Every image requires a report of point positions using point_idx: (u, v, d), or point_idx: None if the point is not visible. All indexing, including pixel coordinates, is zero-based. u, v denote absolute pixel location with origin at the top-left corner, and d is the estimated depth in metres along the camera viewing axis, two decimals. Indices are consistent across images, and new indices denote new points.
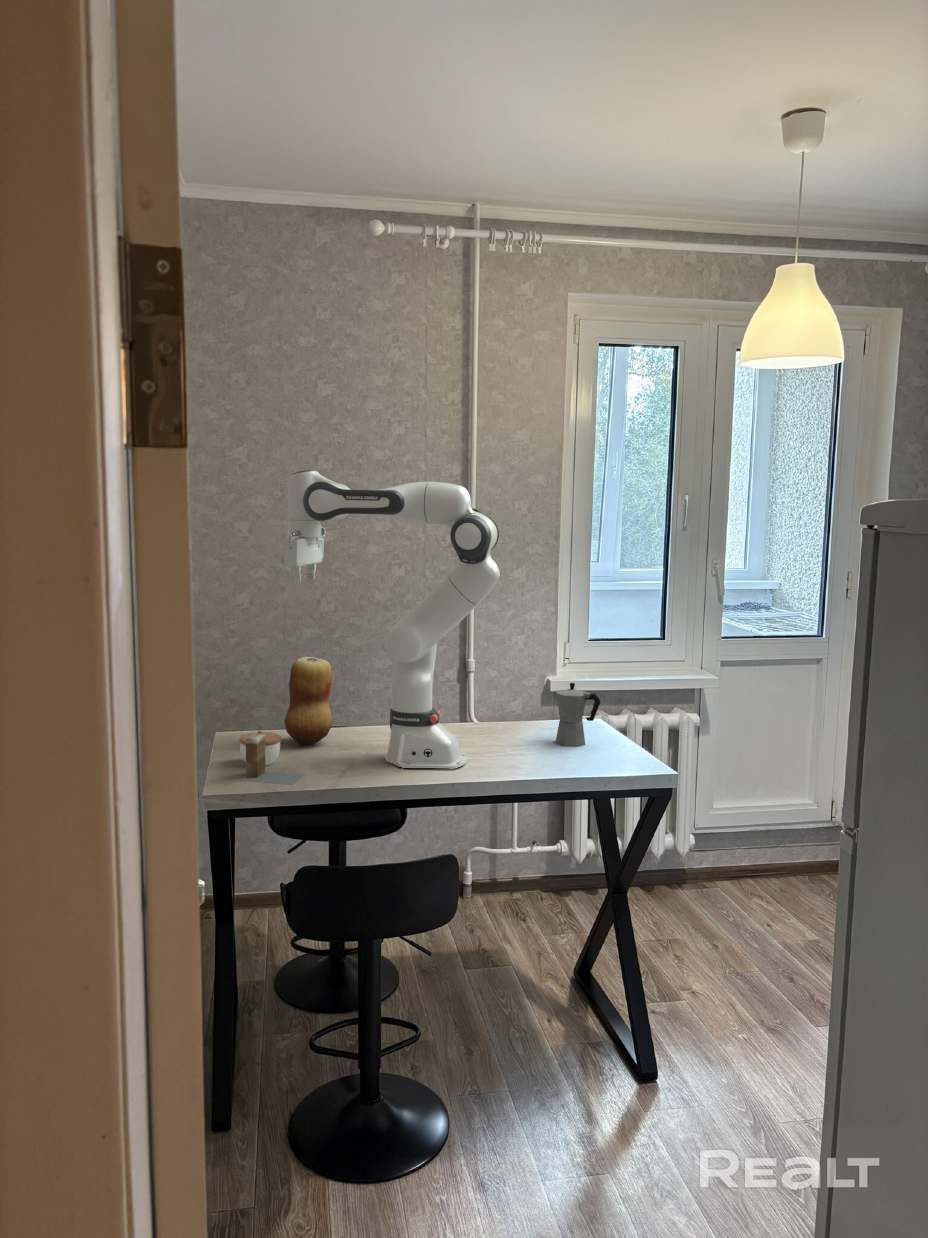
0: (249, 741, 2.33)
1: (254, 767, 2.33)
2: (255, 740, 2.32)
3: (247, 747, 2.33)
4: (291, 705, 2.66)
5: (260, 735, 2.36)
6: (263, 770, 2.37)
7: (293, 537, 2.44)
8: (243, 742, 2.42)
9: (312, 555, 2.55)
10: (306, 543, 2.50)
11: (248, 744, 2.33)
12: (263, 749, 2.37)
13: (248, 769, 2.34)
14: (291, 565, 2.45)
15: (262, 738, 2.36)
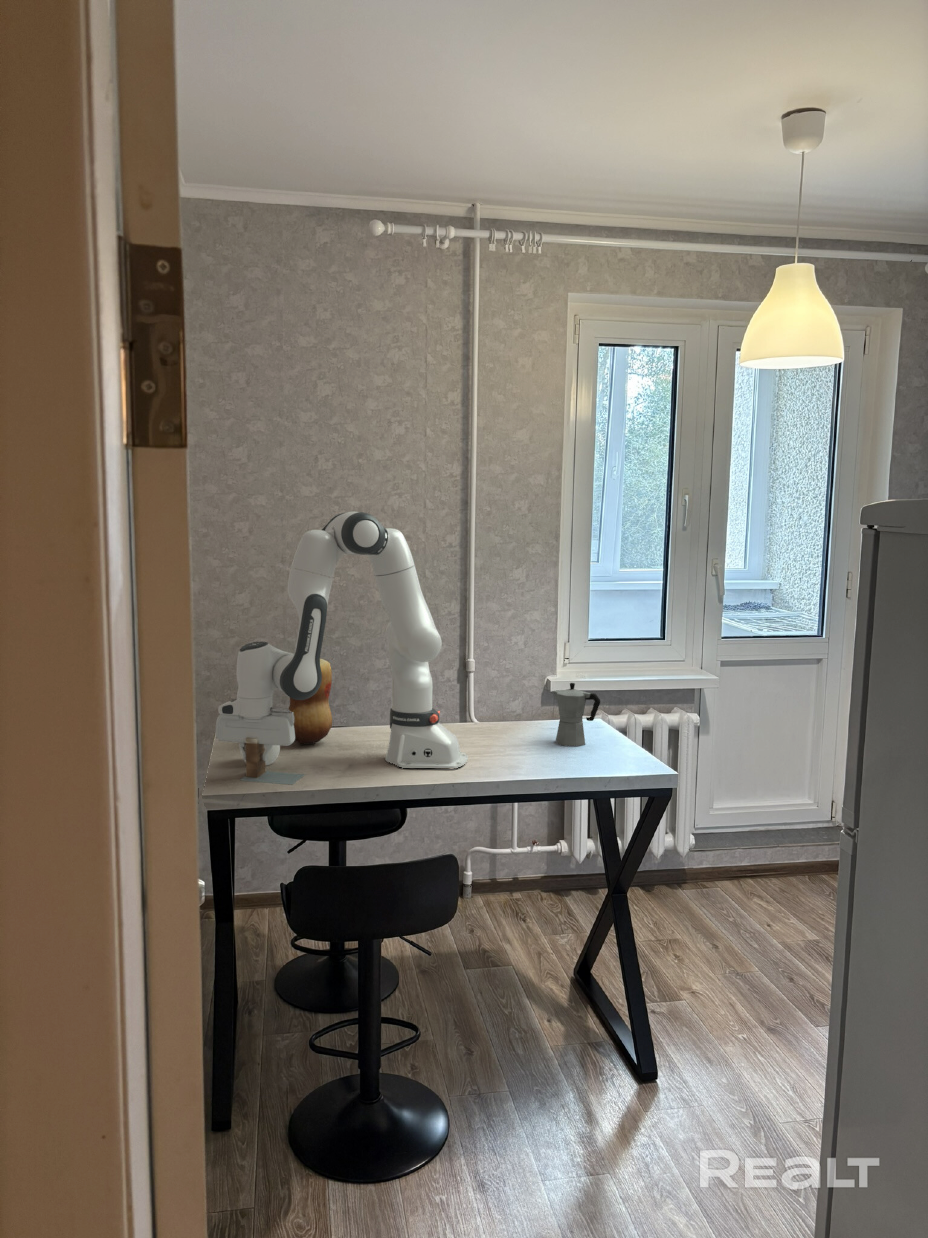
0: (249, 741, 2.33)
1: (254, 767, 2.33)
2: (255, 740, 2.32)
3: (247, 747, 2.33)
4: (291, 705, 2.66)
5: None
6: (263, 770, 2.37)
7: None
8: None
9: None
10: None
11: (248, 744, 2.33)
12: (263, 749, 2.37)
13: (248, 769, 2.34)
14: None
15: None
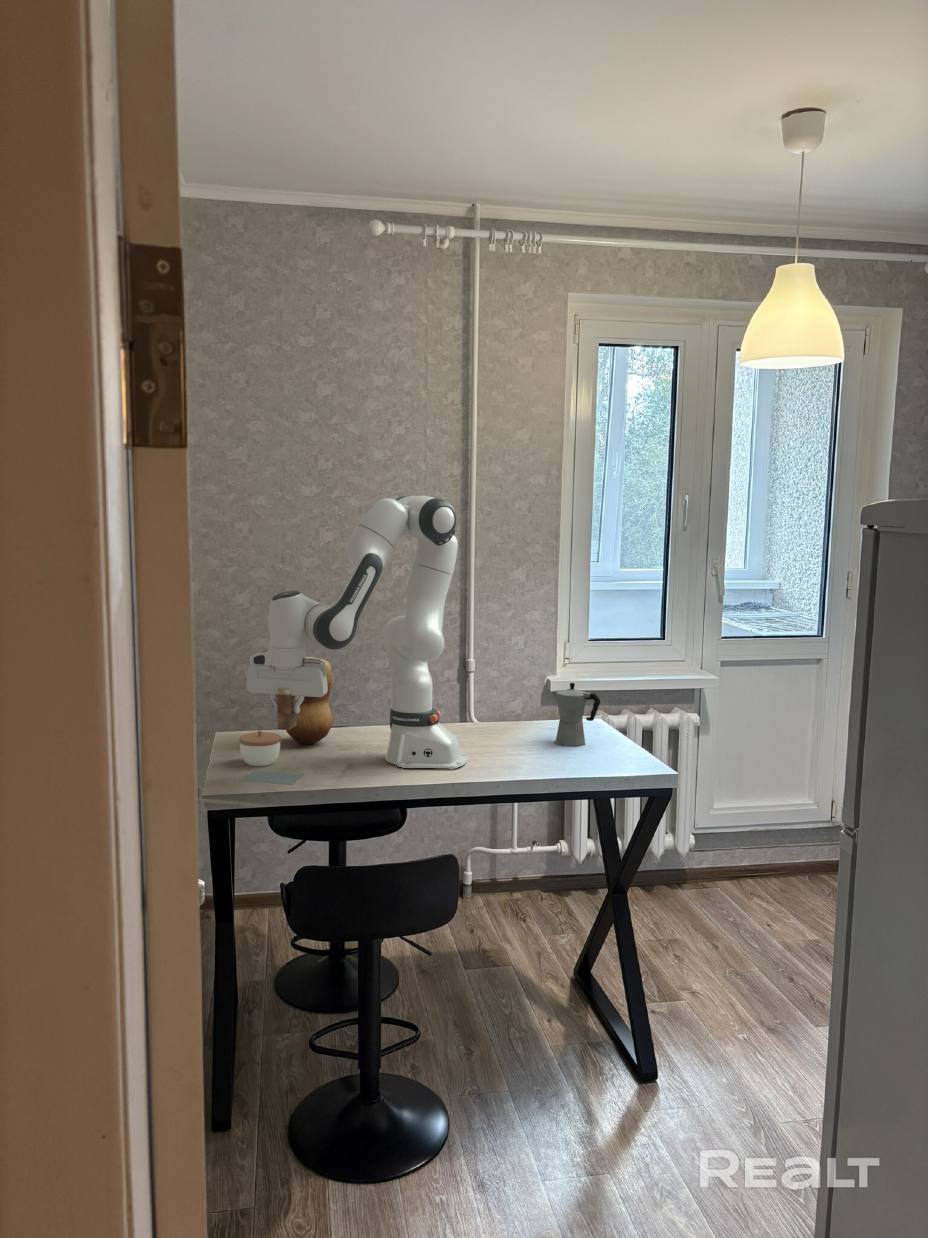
0: (281, 692, 2.28)
1: (286, 719, 2.29)
2: (287, 691, 2.28)
3: (279, 698, 2.29)
4: None
5: None
6: (294, 723, 2.33)
7: None
8: (243, 742, 2.42)
9: None
10: None
11: (280, 695, 2.28)
12: (295, 701, 2.32)
13: (280, 721, 2.29)
14: (324, 694, 2.29)
15: None
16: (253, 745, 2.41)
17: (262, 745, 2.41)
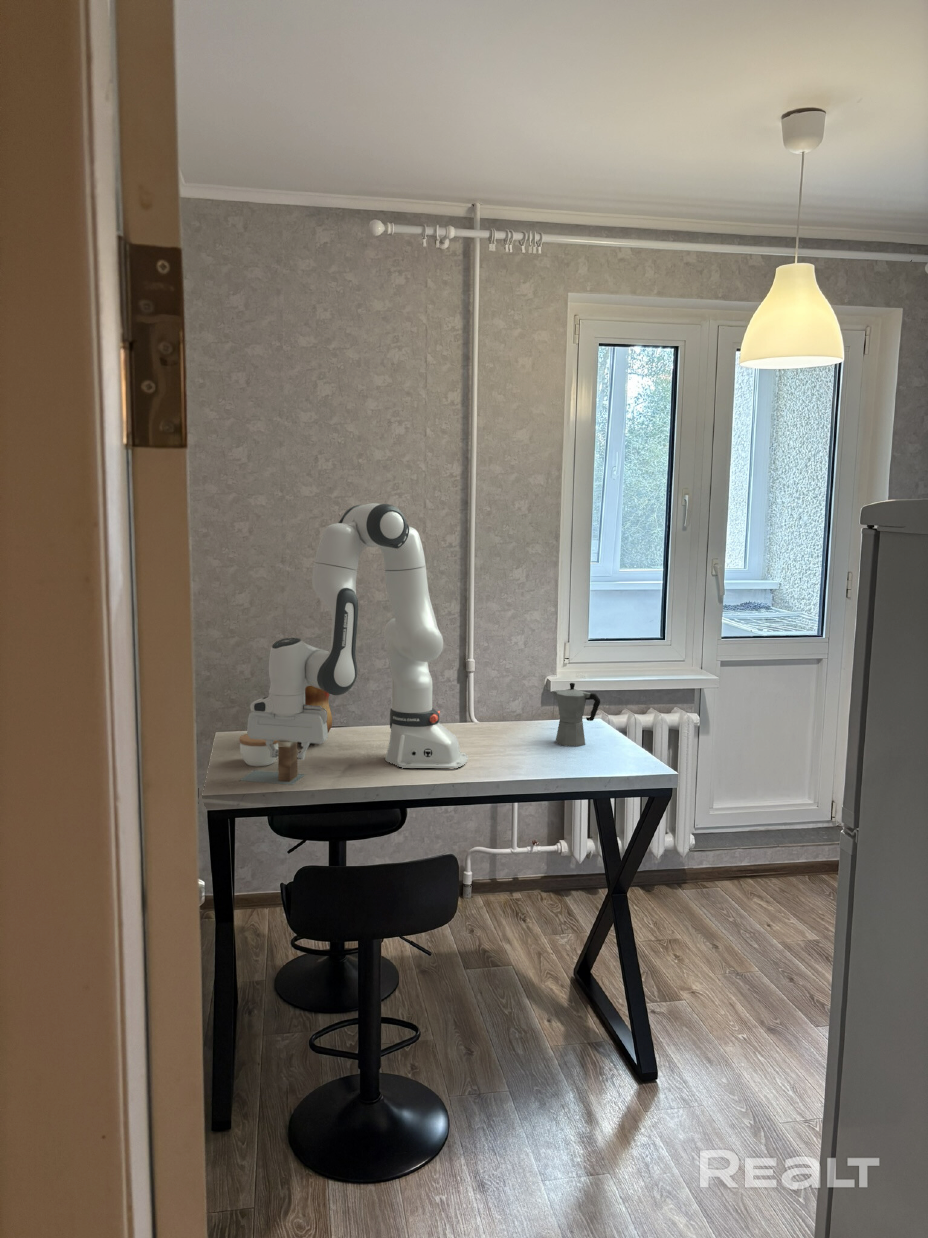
0: (282, 745, 2.30)
1: (287, 771, 2.31)
2: (288, 744, 2.30)
3: (280, 751, 2.30)
4: None
5: None
6: (295, 774, 2.34)
7: None
8: (243, 742, 2.42)
9: None
10: None
11: (281, 748, 2.30)
12: (295, 753, 2.34)
13: (281, 773, 2.31)
14: (324, 740, 2.31)
15: None
16: (253, 745, 2.41)
17: (262, 745, 2.41)
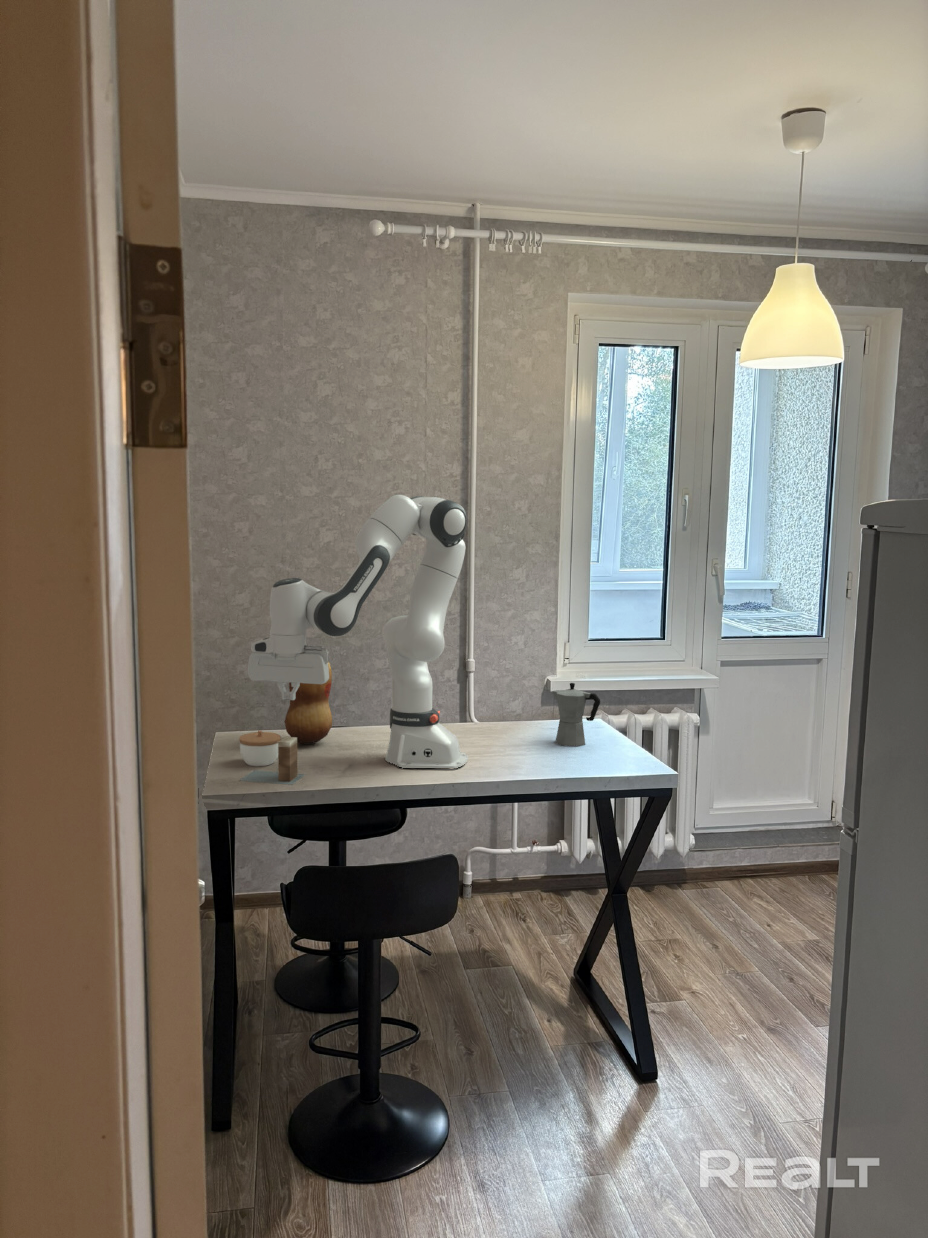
0: (282, 745, 2.30)
1: (287, 771, 2.31)
2: (288, 743, 2.30)
3: (280, 751, 2.30)
4: (291, 705, 2.66)
5: (292, 738, 2.33)
6: (295, 774, 2.34)
7: None
8: (243, 742, 2.42)
9: None
10: None
11: (281, 748, 2.30)
12: (295, 753, 2.34)
13: (281, 773, 2.31)
14: (326, 681, 2.29)
15: (294, 741, 2.33)
16: (253, 745, 2.41)
17: (262, 745, 2.41)
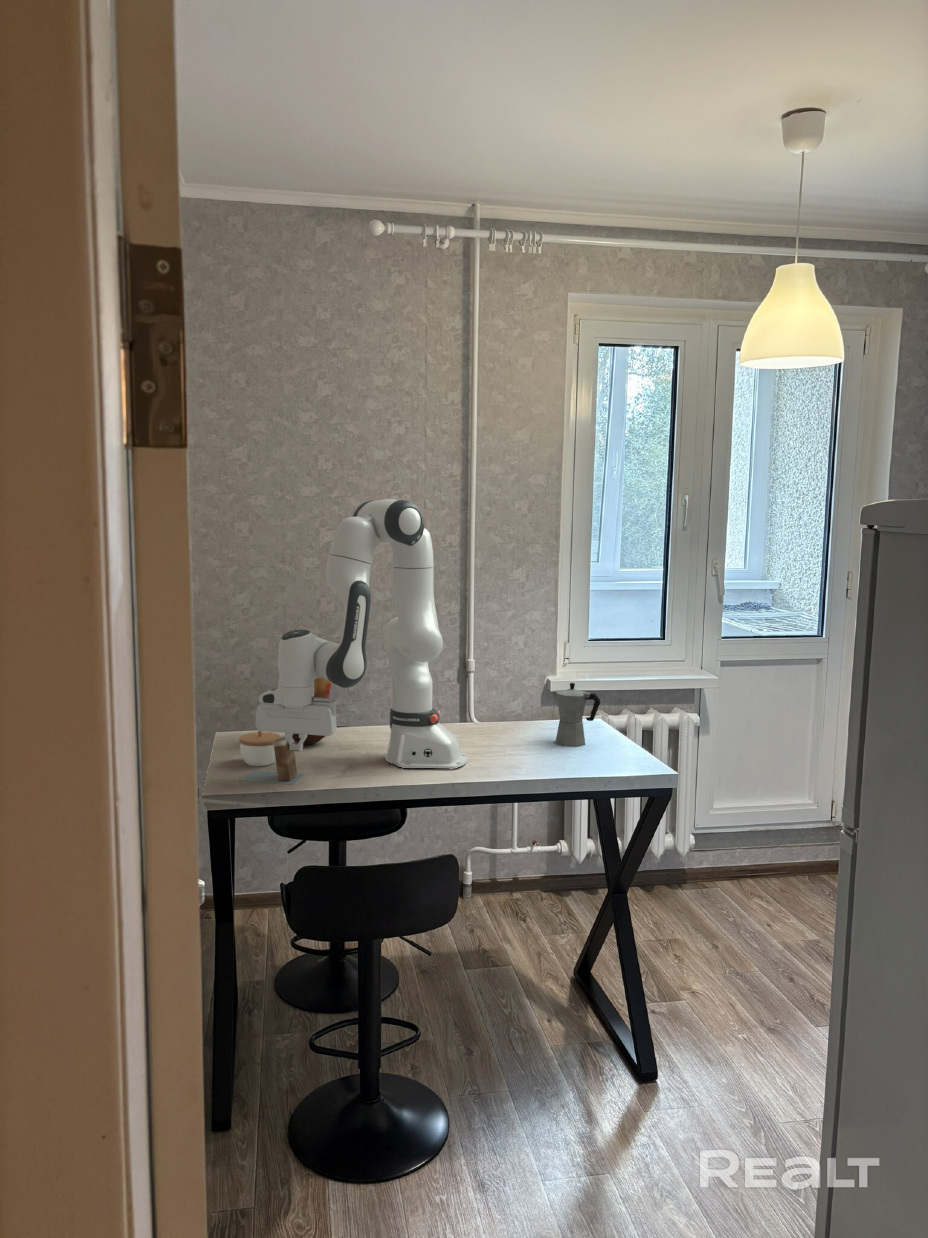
0: (277, 744, 2.30)
1: (285, 769, 2.31)
2: (283, 742, 2.30)
3: (276, 750, 2.31)
4: None
5: None
6: (295, 772, 2.34)
7: None
8: (243, 742, 2.42)
9: None
10: None
11: (276, 747, 2.30)
12: (292, 751, 2.34)
13: (280, 772, 2.31)
14: None
15: None
16: (253, 745, 2.41)
17: (262, 745, 2.41)
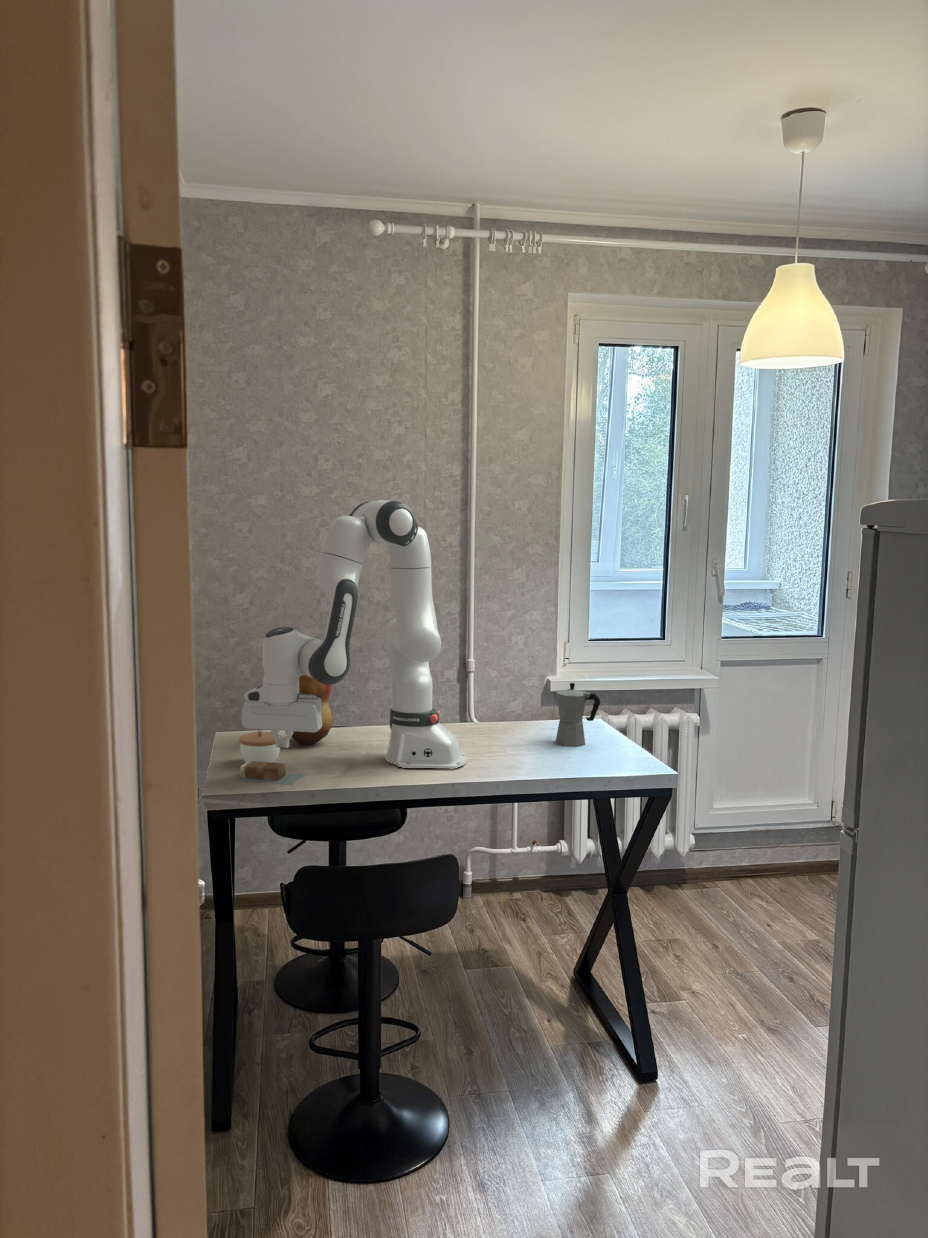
0: (243, 774, 2.33)
1: (267, 771, 2.32)
2: (241, 767, 2.33)
3: (249, 776, 2.33)
4: None
5: None
6: (280, 764, 2.35)
7: None
8: (243, 742, 2.42)
9: None
10: None
11: (246, 775, 2.33)
12: (260, 763, 2.36)
13: (270, 777, 2.32)
14: (319, 729, 2.31)
15: (248, 762, 2.36)
16: (253, 745, 2.41)
17: (262, 745, 2.41)
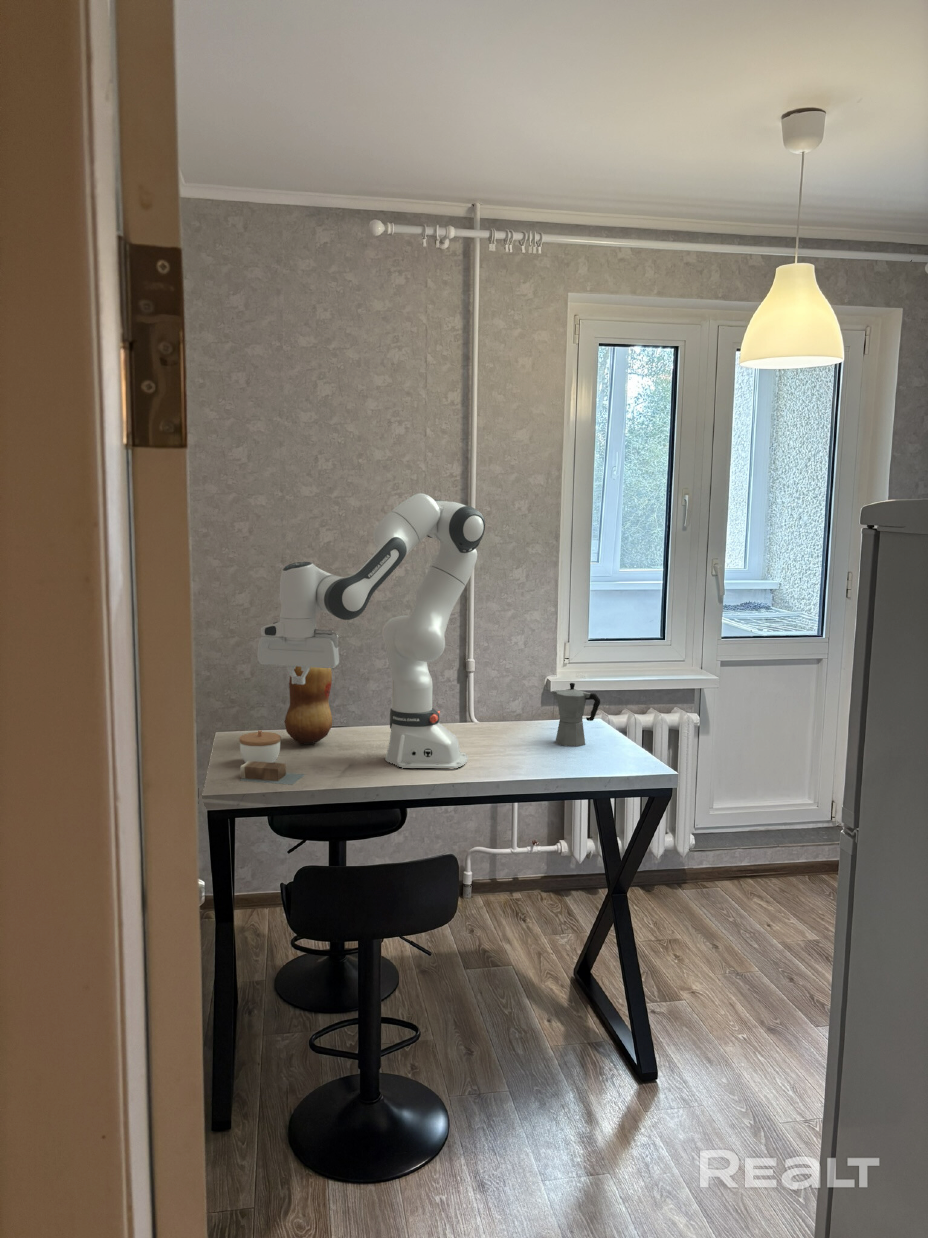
0: (243, 774, 2.33)
1: (267, 771, 2.32)
2: (241, 767, 2.33)
3: (249, 776, 2.33)
4: (291, 705, 2.66)
5: None
6: (280, 764, 2.35)
7: None
8: (243, 742, 2.42)
9: None
10: None
11: (246, 775, 2.33)
12: (260, 763, 2.36)
13: (270, 777, 2.32)
14: (336, 665, 2.27)
15: (248, 762, 2.36)
16: (253, 745, 2.41)
17: (262, 745, 2.41)
